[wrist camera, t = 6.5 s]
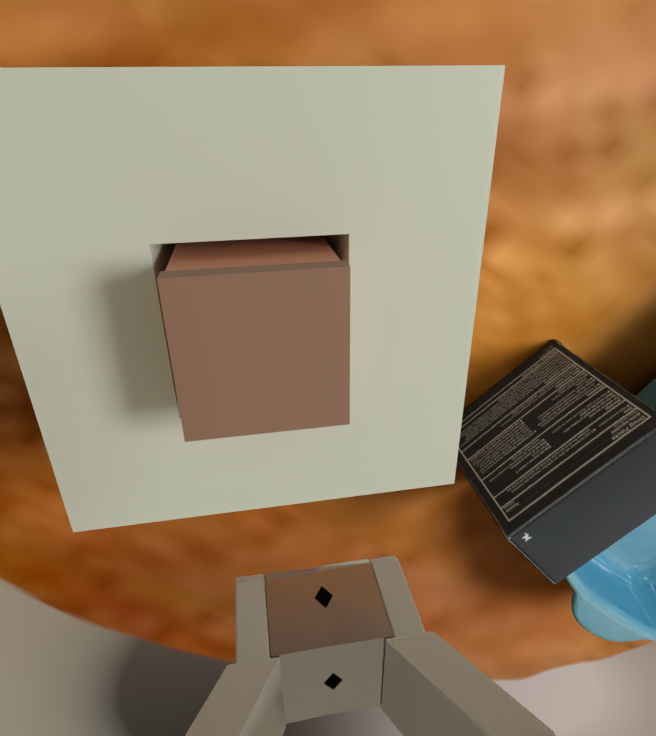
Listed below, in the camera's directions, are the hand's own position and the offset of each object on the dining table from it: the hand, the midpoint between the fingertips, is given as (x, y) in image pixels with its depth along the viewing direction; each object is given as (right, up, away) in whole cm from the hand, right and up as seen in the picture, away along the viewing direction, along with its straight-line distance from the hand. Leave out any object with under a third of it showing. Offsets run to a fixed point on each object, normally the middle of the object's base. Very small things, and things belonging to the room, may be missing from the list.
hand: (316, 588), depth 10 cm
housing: (-4, +10, +19) cm, 22 cm away
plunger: (-4, +10, +19) cm, 21 cm away
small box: (+14, +1, +28) cm, 31 cm away
